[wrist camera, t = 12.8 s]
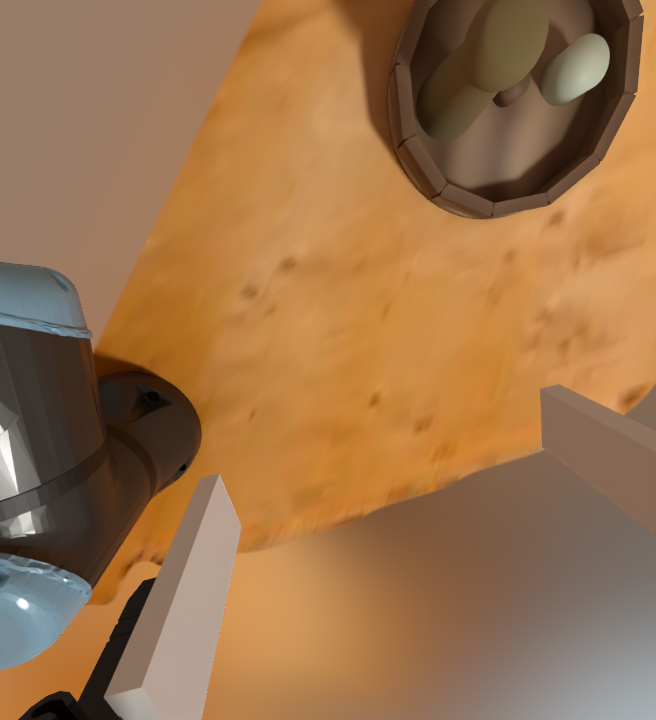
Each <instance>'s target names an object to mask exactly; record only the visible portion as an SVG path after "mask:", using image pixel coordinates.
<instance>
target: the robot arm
mask: <svg viewBox="0 0 656 720" xmlns="http://www.w3.org/2000/svg"><path fill="white" fill-rule="evenodd" d="M90 338H92V333H91V331H90V330H88V329H87V325H86V322H85V318H84V315H83V311H82V307H81V303H80V299H79V295H78V292H77V290H76V288H75V286H74V285H73V283H72V282H71V281H70V280H69V279H68V278H67V277H65V276H64V275H63V274H61V273H59V272H57V271H55V270H52V269H49V268H46V267H40V266H31V265H21V264H11V263H3V262H0V670H3V669H7V668H11V667H14V666H17V665H20V664H22V663H24V662H27V661H29V660H31V659H33V658H34V657H36V656H38V655H39V654H40V653H42V652H43V651H44V650H45V649H47V648H49V647H50V646H51V645H53V644H54V643H55V641H56V640H57V639H58V638H59V637H60V636H61V635H62V633H63V632H64V631H65V629H66V628H67V627H68V625H69V624H70V623H71V621H72V620H73V619H74V617H75V616H76V615H77V613H78V612H79V611H80V609H81V608H82V607H83V606H84V605H85V604H86V603H87V602H88V601H89V599H90V598H91V596H92V594H93V593H92V591H93V589H94V587H95V586H96V584H97V583H98V581H99V580H100V578H101V576H102V575H103V573H104V572H105V570H106V569H107V567H108V565H109V564H110V562H111V561H112V559H113V558H114V556H115V555H116V553H117V551H118V550H119V548H120V547H121V545H122V544H123V542H124V541H125V539H126V537H127V536H128V534H129V533H130V531H131V530H132V528H133V526H134V525H135V523H136V522H137V520H138V519H139V517H140V516H141V514H142V512H143V511H144V509H145V508H146V506H147V504H148V503H149V501H150V500H151V499H152V498H153V497H154V496H156V495H157V494H159V493H160V492H161V491H163V490H164V489H165V488H167V487H168V486H170V485H171V484H172V483H174V482H175V481H176V480H178V479H179V478H180V477H181V476H182V475H183V474H184V473H185V472H186V471H187V469H188V468H189V467H190V465H191V463H192V462H193V460H194V458H195V456H196V454H197V452H198V450H199V447H200V443H201V434H202V433H201V425H200V421H199V417H198V415H197V413H196V411H195V409H194V407H193V405H192V404H191V403H190V401H189V400H188V399H187V398H186V397H185V395H184V394H182V393H181V392H180V391H179V390H178V389H177V388H175V387H174V386H172V385H171V384H169V383H168V382H166V381H164V380H162V379H160V378H157V377H154V376H151V375H148V374H143V373H136V372H120V373H114V374H110V375H107V376H104V377H102V378H100V379H98V380H97V376H96V370H95V364H94V359H93V353H92V347H91V342H90ZM540 395H541V425H542V447H543V448H544V449H545V450H547V451H548V452H549V453H550V454H552V455H553V456H554V457H556V458H557V459H558V460H559V461H561V462H562V463H563V464H565V465H566V466H567V467H568V468H570V469H571V470H572V471H574V472H575V473H576V474H577V475H579V476H580V477H581V478H583V479H584V480H585V481H586V482H588V483H589V484H590V485H592V486H593V487H594V488H595V489H597V490H598V491H599V492H601V493H602V494H603V495H604V496H606V497H607V498H608V499H610V500H611V501H612V502H613V503H615V504H616V505H617V506H619V507H620V508H621V509H622V510H624V511H625V512H626V513H628V514H629V515H630V516H631V517H633V518H634V519H635V520H637V521H638V522H639V523H640V524H642V525H643V526H644V527H646V528H647V529H648V530H649V531H651V532H652V533H653V534H654V535H656V431H654V430H652V429H649V428H648V427H645V426H643V425H641V424H639V423H637V422H635V421H633V420H631V419H629V418H627V417H625V416H623V415H621V414H619V413H617V412H615V411H613V410H611V409H609V408H606V407H604V406H602V405H600V404H598V403H596V402H594V401H592V400H590V399H588V398H586V397H584V396H582V395H580V394H578V393H576V392H574V391H572V390H570V389H568V388H565V387H563V386H561V385H559V384H558V385H554V386H550V387H547V388H543V389H540ZM241 528H242V526H241V524H240V521H239V519H238V517H237V514H236V512H235V509H234V507H233V505H232V502H231V500H230V498H229V495H228V493H227V491H226V488H225V486H224V484H223V481H222V479H221V476H220V474H216V475H212V476H208V477H205V478H201V479H200V481H199V483H198V485H197V487H196V490H195V492H194V494H193V496H192V499H191V501H190V503H189V505H188V508H187V510H186V512H185V515H184V517H183V519H182V521H181V524H180V526H179V528H178V530H177V533H176V535H175V537H174V539H173V542H172V544H171V546H170V548H169V551H168V553H167V555H166V557H165V560H164V562H163V564H162V567H161V569H160V571H159V573H158V576H157V577H156V578H152V579H148V580H145V581H143V582H142V583H141V585H140V586H139V587H138V589H137V590H136V591H135V592H134V593H133V595H132V596H131V597H130V598H129V600H128V601H127V603H126V606H125V608H124V610H123V611H122V614H121V616H120V618H119V620H118V624H116V626H115V628H114V630H113V632H112V634H111V636H110V641H109V642H107V644H106V646H105V648H104V650H103V652H102V654H101V656H100V658H99V660H98V662H97V664H96V666H95V668H94V670H93V672H92V674H91V676H90V678H89V680H88V682H87V684H86V686H85V688H84V690H83V692H82V694H81V696H80V698H79V700H78V702H77V701H76V700H75V698H74V697H73V696H72V695H71V694H70V692H63V691H59V692H56V693H54V694H51V695H48V696H46V697H45V698H44V699H42V700H40V701H39V702H38V703H36V704H35V705H33V706H32V707H31V708H30V709H29V710H28V711H27V712H26V713H25V714H24V715H23V716H22V717H21V718H20V719H19V720H201V719H202V714H203V709H204V704H205V700H206V695H207V690H208V686H209V681H210V676H211V671H212V666H213V662H214V657H215V652H216V647H217V642H218V637H219V633H220V628H221V623H222V619H223V614H224V609H225V604H226V600H227V595H228V590H229V585H230V581H231V575H232V571H233V566H234V561H235V557H236V552H237V547H238V542H239V538H240V533H241Z"/></svg>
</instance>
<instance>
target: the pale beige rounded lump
mask: <svg viewBox="0 0 656 720" xmlns="http://www.w3.org/2000/svg"><path fill="white" fill-rule="evenodd" d="M609 59H610V53H609V47H608V45H607V43H606V41H605V40H604V39H603V38H602V37H601V36H599V35H597V34H587V35H584V36H582V37H580V38H579V39H577V40H576V41H575V42H574V43H572V44H571V45H570V46H569V47H568V48H566V49H565V50H564V51H563V52H561V53H560V54H559V55H558V56H556V57H555V58H554V59H553V60H551V61H550V62H549V63H548V65H547V66H546V68H545V69H544V71H543V74H542V77H541V82H540V89H541V94H542V96H543V98H544V100H545V101H546V102H547V103H548V104H550V105H553V106H561V105H564V104H566V103H568V102H569V101H571V100H573V99H574V98H576V97H578V96H579V95H581V94H583V93H584V92H586V91H588V90H590V89H591V88H593V87H594V86H596V85H597V84H598V83H599V82H600V81H601V80H602V78H603V77H604V75H605V73H606V71H607V68H608V65H609Z"/></svg>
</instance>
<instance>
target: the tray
mask: <svg viewBox="0 0 656 720" xmlns="http://www.w3.org/2000/svg"><path fill="white" fill-rule="evenodd" d="M486 1H487V0H415V1H414V4H413V7H412V10H411V13H410V15H409V17H408V19H407V21H406V23H405V26H404V28H403V31H402V33H401V36H400V38H399V41H398V43H397V46H396V49H395V53H394V56H393V60H392V64H391V69H390V75H389V81H388V94H387V110H388V122H389V128H390V134H391V138H392V142H393V145H394V149H395V152H396V154H397V157H398V159H399V161H400V164H401V166H402V168H403V169H404V171H405V173H406V174H407V176H408V178H409V179H410V181H411V182H412V183H413V184H414V186H415V187H416V188H417V190H418V191H419V192H421V193H422V194H423V195H424V196H425V197H426V198H427V199H428V200H429V201H431V202H432V203H434V204H435V205H436V206H438V207H439V208H441V209H443V210H445V211H447V212H449V213H452V214H455V215H458V216H461V217H466V218H472V219H493V218H500V217H505V216H509V215H513V214H516V213H520V212H522V211H525V210H530V209H535V208H539V207H544V206H548V205H550V204H551V203H553V202H554V201H555V200H556V199H558V198H559V197H560V196H561V195H562V194H564V193H565V192H566V191H567V190H568V189H570V188H571V187H572V186H573V185H575V184H576V183H577V182H578V181H579V180H581V179H582V178H583V177H584V176H585V175H587V174H588V173H589V172H590V171H591V170H593V169H594V168H595V167H596V166H598V165H599V164H600V161H602V160H603V158H604V156H605V154H606V153H607V151H608V149H609V147H610V145H611V143H612V141H613V139H614V137H615V135H616V133H617V131H618V129H619V127H620V126H621V124H622V122H623V120H624V118H625V116H626V114H627V112H628V110H629V108H630V106H631V104H632V102H633V100H634V98H635V97H636V95H634V93H636V92H637V87H638V76H639V65H640V54H641V43H642V32H643V21H644V15H643V16H639V15H640V14H641V13H642V12H644V11H643V9H642V6H641V4H640V1H639V0H543V1H544V3H545V5H546V9H547V12H548V34H547V38H546V42H545V46H544V49H543V51H542V53H541V55H540V57H539V59H538V61H537V63H536V64H535V66H534V67H533V68H532V70H531V71H530V72H529V73H528V74H527V75H526V76H525V77H524V78H523V79H522V80H521V81H520V82H518V83H517V84H515V85H514V86H512V87H510V88H509V89H506V90H503V91H499V92H498V93H497V94H496V95H495V97H494V98H493V99H492V100H491V102H490V103H489V104H488V105H487V106H486V108H485V109H484V110H483V111H482V113H481V114H480V115H479V116H478V118H477V119H476V120H475V121H474V122H473V124H472V125H471V126H470V127H469V128H468V130H467V131H466V132H465V133H464V134H463V135H461V136H459V137H458V138H456V139H454V140H450V141H439V140H435V139H433V138H432V137H430V136H428V135H427V134H426V133H425V131H424V130H423V129H422V128H421V126H420V123H419V121H418V118H417V111H416V102H417V96H418V92H419V90H420V88H421V86H422V83H423V82H424V81H425V79H426V78H427V77H428V76H429V75H430V73H431V72H432V71H434V70H435V69H436V68H437V67H438V66H439V65H440V64H441V63H442V62H443V61H444V60H445V59H446V58H447V57H448V56H449V55H450V54H451V53H452V52H453V51H454V50H455V49H456V48H457V47H458V46H459V45H460V44H461V43H462V42H463V41H464V39H465V36H466V33H467V30H468V28H469V26H470V24H471V22H472V19H473V18H474V16H475V15H476V13H477V12H478V10H479V9H480V8H481V7H482V6H483V4H484V3H485V2H486ZM587 34H597V35H599V36H601V37H602V38H603V39H604V40H605V41H606V43H607V45H608V47H609V53H610V59H609V65H608V68H607V71H606V73H605V75H604V77H603V78H602V80H601V81H600V82H599V83H598V84H597V85H596V86H594V87H593V88H591V89H590V90H588V91H586V92H584V93H583V94H581V95H579V96H578V97H576V98H574V99H573V100H571V101H569V102H568V103H566V104H564V105H561V106H553V105H550V104H548V103H547V102H546V101H545V100H544V98H543V96H542V94H541V89H540V82H541V77H542V74H543V71H544V69H545V68H546V66H547V65H548V63H549V62H550V61H551V60H553V59H554V58H555V57H556V56H558V55H559V54H560V53H561V52H563V51H564V50H565V49H566V48H568V47H569V46H570V45H571V44H572V43H574V42H575V41H576V40H577V39H579V38H580V37H582V36H584V35H587Z"/></svg>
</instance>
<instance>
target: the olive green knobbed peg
mask: <svg viewBox="0 0 656 720" xmlns="http://www.w3.org/2000/svg"><path fill="white" fill-rule="evenodd" d="M547 34H548V12H547V9H546V5H545V3H544V1H543V0H487V1H486V2H485V3H484V4H483V6H482V7H481V8H480V9H479V10H478V12H477V13H476V15H475V16H474V18H473V19H472V22H471V24H470V26H469V28H468V30H467V33H466V36H465V39H464V41H463V42H462V43H461V44H460V45H459V46H458V47H457V48H456V49H455V50H454V51H453V52H452V53H451V54H450V55H449V56H448V57H447V58H446V59H445V60H444V61H443V62H442V63H441V64H440V65H439V66H438V67H437V68H436V69H435V70H434V71H432V72H431V73H430V75H429V76H428V77H427V78H426V79H425V81H424V82H423V83H422V86H421V88H420V90H419V92H418V96H417V102H416V111H417V118H418V121H419V123H420V126H421V128H422V129H423V130H424V131H425V133H426V134H427V135H428V136H430V137H432V138H433V139H435V140H439V141H450V140H454V139H456V138H458V137H459V136H461V135H463V134H464V133H465V132H466V131H467V130H468V128H469V127H470V126H471V125H472V124H473V122H474V121H475V120H476V119H477V118H478V116H479V115H480V114H481V113H482V111H483V110H484V109H485V108H486V106H487V105H488V104H489V103H490V102H491V100H492V99H493V98H494V97H495V95H496V94H497V93H498V92H499V91H503V90H506V89H509V88H510V87H512V86H514V85H515V84H517V83H518V82H520V81H521V80H522V79H523V78H524V77H525V76H526V75H527V74H528V73H529V72H530V71H531V70H532V68H533V67H534V66H535V64H536V63H537V61H538V59H539V57H540V55H541V53H542V51H543V49H544V46H545V42H546V38H547Z"/></svg>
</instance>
